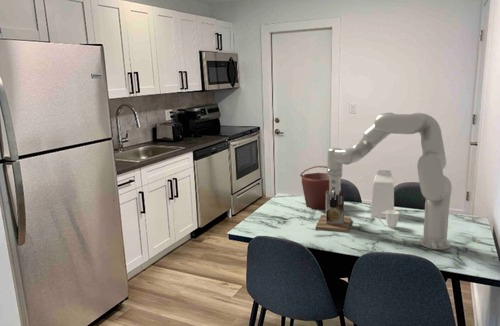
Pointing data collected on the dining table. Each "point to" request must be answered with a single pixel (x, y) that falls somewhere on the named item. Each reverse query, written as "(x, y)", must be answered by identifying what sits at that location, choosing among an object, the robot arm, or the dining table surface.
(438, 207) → the robot arm
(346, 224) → the walnut board
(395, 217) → the cup
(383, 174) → the milk
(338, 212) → the coffee box
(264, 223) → the dining table surface
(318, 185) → the bucket
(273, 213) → the dining table surface
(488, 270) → the dining table surface
